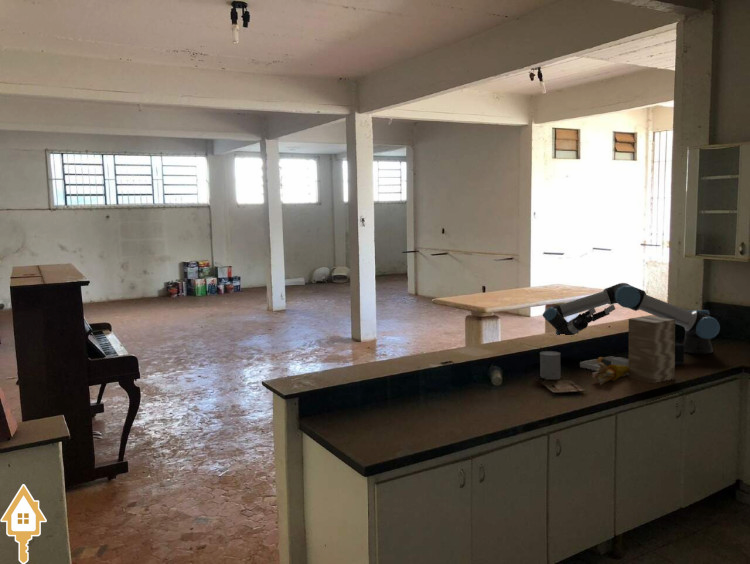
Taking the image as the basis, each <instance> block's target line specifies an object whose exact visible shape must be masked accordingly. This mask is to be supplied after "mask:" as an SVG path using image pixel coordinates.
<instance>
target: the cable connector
mask: <svg viewBox="0 0 750 564" xmlns="http://www.w3.org/2000/svg"><path fill="white" fill-rule="evenodd" d="M616 357H617V358H611V361H610V360H607V359H605V358H604V357H603V356H599V357H598V358H597V359H598V360H597V362H598V363H601V362H602V363H604V364H605V365H608V366H609V365H611V364H613V365H622V366H628V367H629V358H625V357H622V356H616Z"/></svg>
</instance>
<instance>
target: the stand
mask: <svg viewBox="0 0 750 564" xmlns="http://www.w3.org/2000/svg"><path fill="white" fill-rule="evenodd" d="M675 342H676V324H675V319H668V318H661V317H658V316H655V315H646V316H640V317H639V316H638V317H633V318H632V317H631V318H628V359H629V375H628V378H631V379H635V380H638V379H639V380H638V381H643V382H646V381H647V382H646V383H650V382H651V383H650V384H653V383H654V384H658V383H657V382H659V383H661V382H662V381H663V382H667V381H671V379H672V380H675V377H676V375H675V373H676V370H675V369H676V367H675V366H676V365H675ZM666 380H667V381H666Z"/></svg>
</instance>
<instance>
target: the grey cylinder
mask: <svg viewBox="0 0 750 564" xmlns="http://www.w3.org/2000/svg"><path fill="white" fill-rule="evenodd" d="M539 365H540V366H539V368H540V369H539V372H540V373H539V374H540V376H541V377H542V378H546V379H560V378H561V374H562V371H561V369H562V368H561V352H560V351H559V352H558V351H554V350H553V351H552V350H544V351H540V352H539ZM560 380H561V379H560Z"/></svg>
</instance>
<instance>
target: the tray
mask: <svg viewBox="0 0 750 564" xmlns="http://www.w3.org/2000/svg"><path fill="white" fill-rule="evenodd" d="M617 357H618V356H612V355H610V356H604V357H603V358H605V359H607V360H610V361H611V358H617ZM597 360H598V358H594V359H589V360H584V361H580V362H579V367H580V368H582V369H586V368H587V370H590V369H591V370H590V371H594V370H595V371H594V372H597V370H596V369H598V368H600V366H599V364H598V362H597ZM606 366H608V365H606ZM623 377H629V372H628V373H627V374H625V375H623V376H620V377H619V378H623Z"/></svg>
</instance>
